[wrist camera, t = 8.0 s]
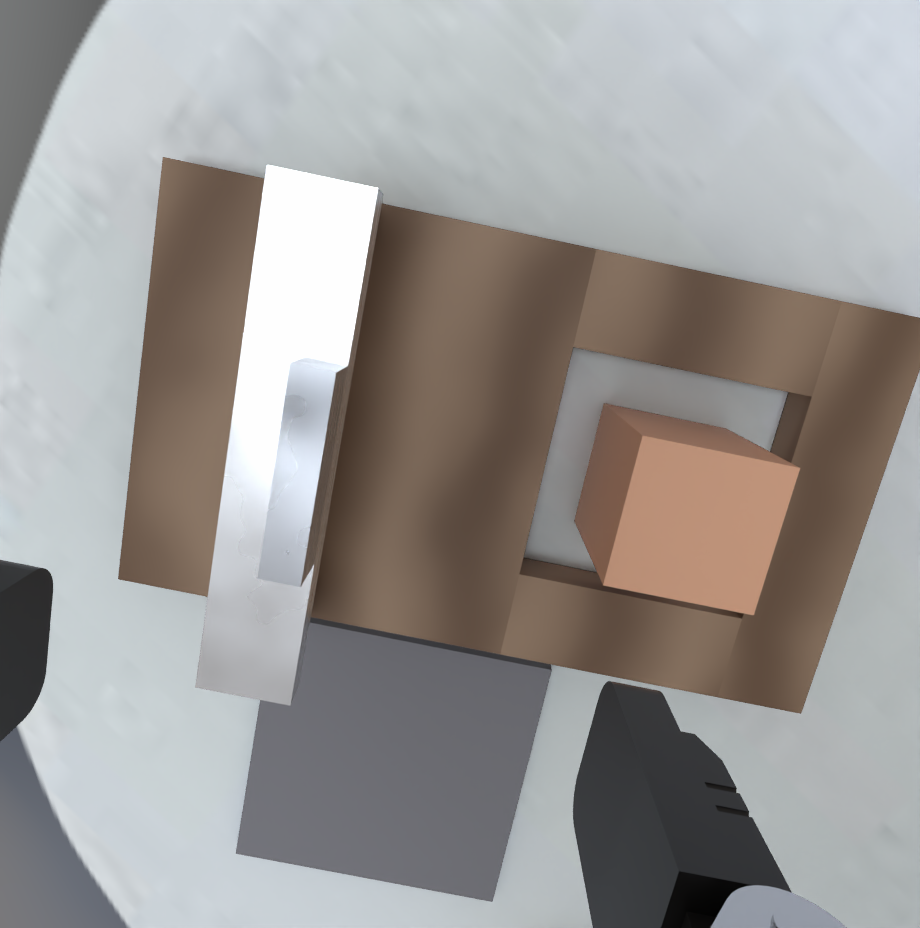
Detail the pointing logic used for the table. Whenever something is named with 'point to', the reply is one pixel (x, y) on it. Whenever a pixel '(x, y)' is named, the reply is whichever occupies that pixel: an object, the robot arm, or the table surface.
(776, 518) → the terracotta block
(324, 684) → the charcoal mat
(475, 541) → the puzzle board
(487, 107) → the table surface
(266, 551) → the metal gate
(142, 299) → the table surface
